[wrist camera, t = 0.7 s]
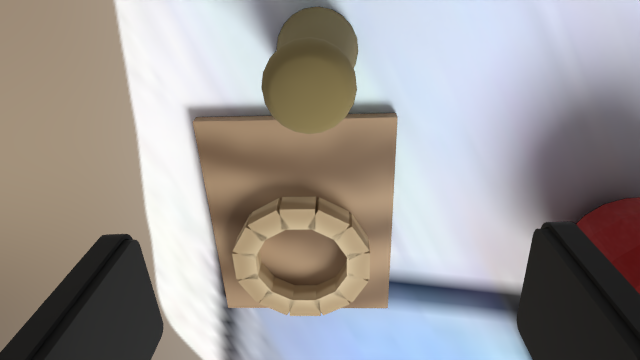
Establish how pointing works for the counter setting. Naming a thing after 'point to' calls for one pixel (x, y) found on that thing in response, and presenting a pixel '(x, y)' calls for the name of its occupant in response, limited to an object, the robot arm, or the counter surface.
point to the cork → (312, 71)
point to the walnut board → (300, 194)
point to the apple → (617, 235)
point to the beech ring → (302, 217)
